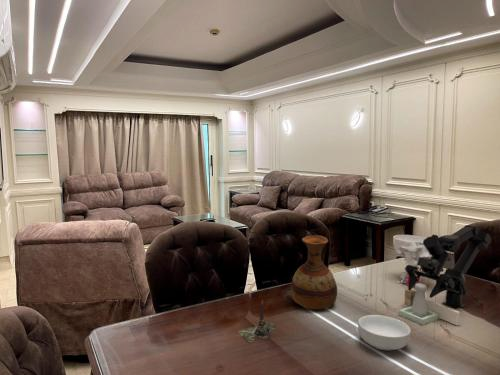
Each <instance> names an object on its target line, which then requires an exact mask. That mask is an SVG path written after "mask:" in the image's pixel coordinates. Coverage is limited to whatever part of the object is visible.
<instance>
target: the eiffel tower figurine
mask: <svg viewBox="0 0 500 375" xmlns="http://www.w3.org/2000/svg"><path fill="white" fill-rule="evenodd" d="M276 327H277V326H276V325H275V324H274V323H271V322H270V323H266V321H265V317H264V300H261V307H260V316H259V321H258V324H257V326H252V327H247V328H244V329H240V330H238V334H239V335H240V336H241V337H242V338H243V339H245V340H246V341H247V343H255V337H257V338H263V339H268V338H272V335H271V333H272V330H274V329H275V328H276Z"/></svg>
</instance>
